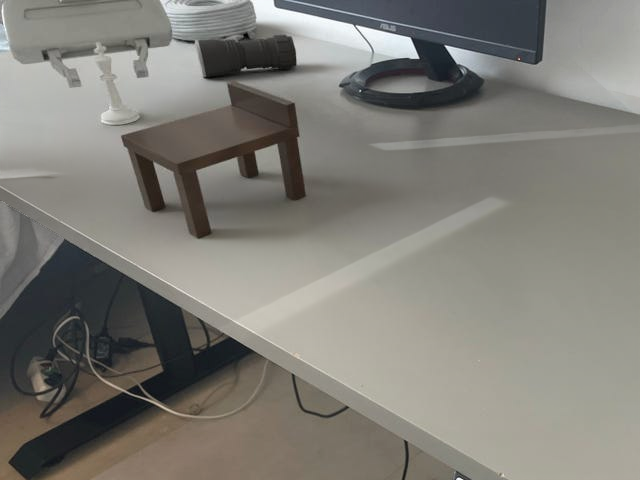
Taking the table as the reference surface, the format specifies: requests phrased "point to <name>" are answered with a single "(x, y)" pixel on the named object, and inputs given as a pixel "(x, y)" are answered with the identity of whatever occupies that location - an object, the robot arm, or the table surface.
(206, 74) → the flashlight
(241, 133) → the wooden bench with backrest
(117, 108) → the chess piece
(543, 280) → the table surface
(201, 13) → the cable
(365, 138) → the table surface
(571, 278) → the table surface
